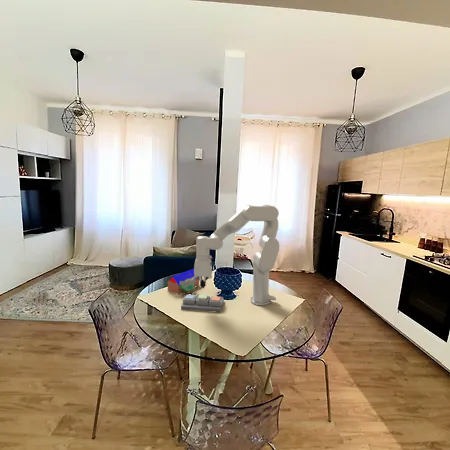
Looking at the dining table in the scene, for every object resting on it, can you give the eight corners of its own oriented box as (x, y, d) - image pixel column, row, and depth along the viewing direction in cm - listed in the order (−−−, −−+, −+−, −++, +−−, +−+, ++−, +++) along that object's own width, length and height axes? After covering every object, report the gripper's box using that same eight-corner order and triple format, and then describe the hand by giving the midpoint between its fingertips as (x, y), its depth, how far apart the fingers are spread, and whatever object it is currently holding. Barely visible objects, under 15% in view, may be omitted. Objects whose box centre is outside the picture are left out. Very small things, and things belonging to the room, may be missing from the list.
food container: (186, 298, 163) (185, 283, 161) (179, 295, 167) (179, 281, 165) (199, 291, 173) (199, 277, 171) (192, 289, 176) (192, 275, 175)
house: (167, 290, 175) (166, 274, 173) (188, 282, 191) (187, 267, 189) (178, 295, 168) (178, 278, 166) (199, 285, 184) (199, 270, 182)
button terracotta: (221, 300, 153) (221, 296, 153) (219, 304, 148) (219, 300, 148) (212, 300, 154) (212, 296, 154) (211, 303, 149) (211, 299, 149)
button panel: (223, 301, 158) (223, 294, 157) (219, 312, 144) (219, 304, 144) (188, 299, 161) (188, 292, 161) (181, 309, 148) (180, 302, 147)
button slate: (195, 298, 156) (195, 295, 155) (193, 302, 151) (193, 298, 151) (187, 298, 157) (187, 294, 156) (185, 301, 152) (184, 298, 151)
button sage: (208, 298, 154) (208, 294, 154) (206, 302, 149) (206, 298, 149) (200, 298, 155) (200, 294, 155) (198, 301, 150) (197, 297, 150)
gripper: (216, 256, 151) (216, 285, 154) (192, 255, 153) (192, 284, 156) (214, 259, 144) (213, 290, 146) (188, 258, 146) (188, 288, 148)
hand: (202, 287), depth 151 cm, fingers closed
